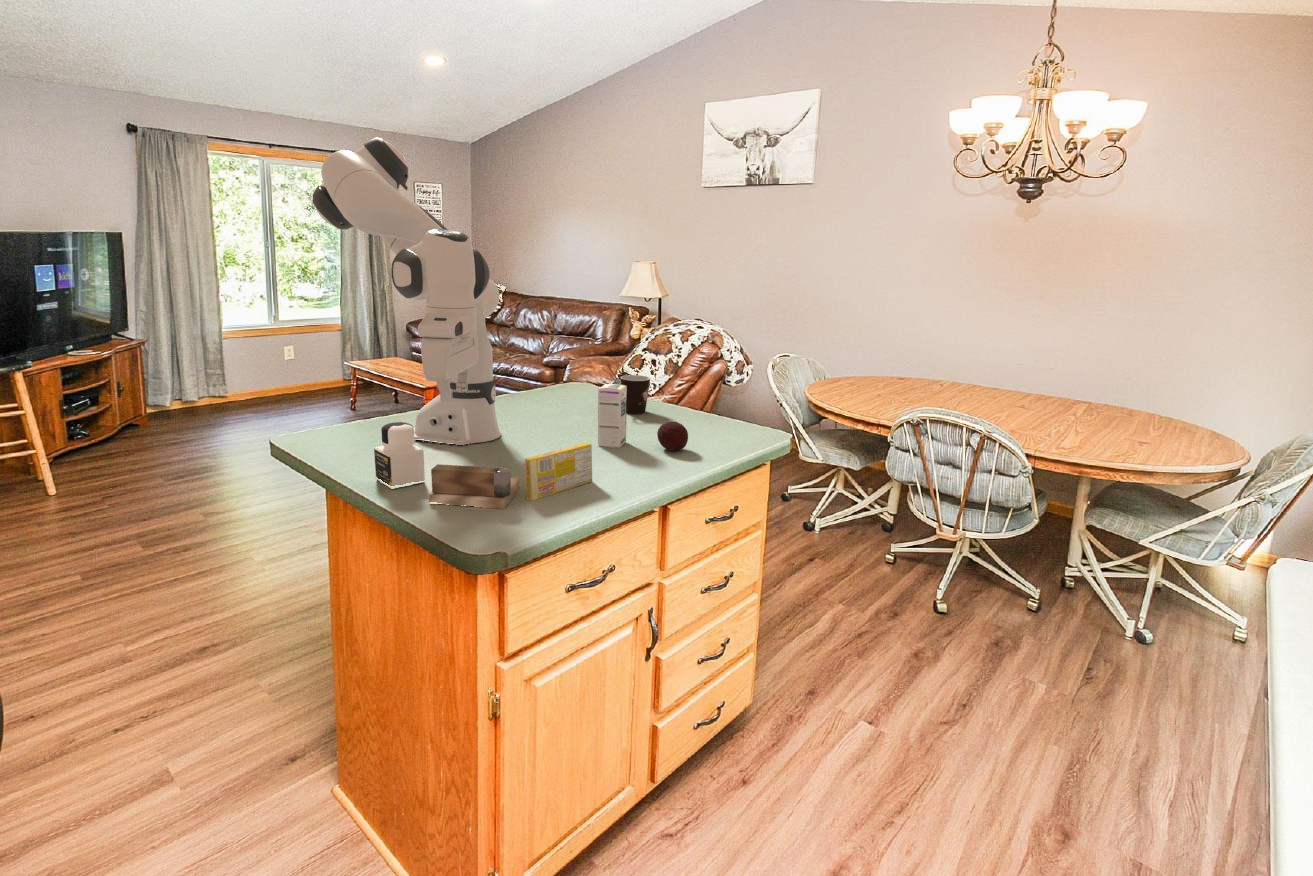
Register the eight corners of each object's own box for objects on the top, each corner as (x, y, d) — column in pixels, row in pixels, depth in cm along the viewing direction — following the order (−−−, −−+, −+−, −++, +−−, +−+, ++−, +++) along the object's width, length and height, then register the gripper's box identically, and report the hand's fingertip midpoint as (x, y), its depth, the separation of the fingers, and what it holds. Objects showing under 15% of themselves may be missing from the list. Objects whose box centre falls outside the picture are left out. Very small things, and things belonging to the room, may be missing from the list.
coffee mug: (636, 407, 219) (637, 374, 216) (655, 413, 212) (656, 379, 210) (605, 411, 212) (605, 377, 209) (623, 417, 205) (624, 382, 203)
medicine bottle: (375, 481, 147) (371, 423, 144) (409, 474, 152) (406, 418, 149) (391, 490, 142) (387, 430, 139) (425, 483, 147) (423, 425, 144)
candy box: (585, 480, 153) (586, 441, 151) (593, 482, 152) (593, 444, 149) (524, 498, 141) (524, 457, 139) (531, 501, 140) (531, 459, 138)
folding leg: (513, 491, 138) (512, 468, 137) (507, 497, 134) (507, 474, 133) (438, 486, 139) (437, 463, 138) (431, 492, 135) (430, 469, 134)
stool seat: (429, 504, 136) (428, 494, 135) (451, 483, 147) (450, 473, 147) (503, 509, 135) (503, 498, 134) (519, 487, 146) (519, 478, 146)
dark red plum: (673, 456, 171) (675, 427, 170) (650, 449, 177) (651, 420, 175) (694, 450, 177) (696, 422, 175) (670, 443, 182) (672, 416, 180)
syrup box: (620, 448, 176) (622, 389, 172) (596, 446, 177) (597, 387, 173) (626, 442, 182) (627, 384, 178) (603, 440, 183) (604, 382, 179)
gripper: (454, 315, 144) (456, 384, 147) (413, 327, 124) (417, 407, 128) (485, 316, 143) (487, 386, 147) (449, 329, 124) (453, 409, 127)
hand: (454, 396), depth 137 cm, fingers open, 7 cm apart
